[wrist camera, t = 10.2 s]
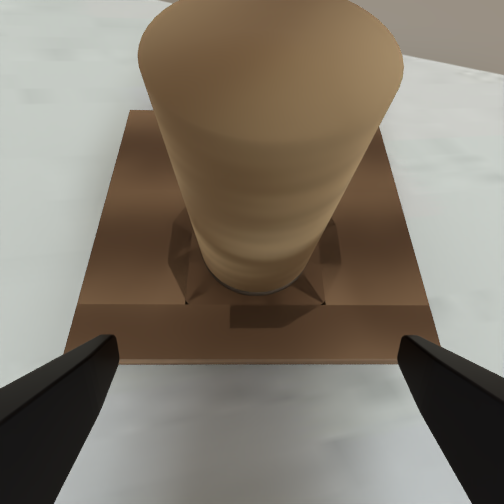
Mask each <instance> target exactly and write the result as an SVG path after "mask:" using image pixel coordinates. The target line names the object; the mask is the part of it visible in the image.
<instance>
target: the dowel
mask: <svg viewBox="0 0 504 504" xmlns="http://www.w3.org/2000/svg"><path fill="white" fill-rule="evenodd" d="M138 63H139V68H140V71H141V74H142V77H143V80H144V83H145V86H146V89H147V92H148V95H149V98H150V101H151V104H152V107H153V110H154V113H155V116H156V119H157V122H158V125H159V128H160V131H161V134H162V137H163V140H164V143H165V146H166V149H167V152H168V155H169V158H170V161H171V164H172V167H173V170H174V173H175V176H176V178H177V181H178V184H179V187H180V190H181V193H182V196H183V199H184V202H185V205H186V208H187V211H188V214H189V217H190V220H191V223H192V226H193V229H194V232H195V235H196V238H197V241H198V244H199V247H200V250H201V254H202V257H203V260H204V263H205V265H206V267H207V269H208V271H209V272H210V274H211V275H212V276H213V277H214V278H215V280H216V281H218V282H219V283H220V284H221V285H223V286H224V287H226V288H227V289H229V290H231V291H234V292H236V293H239V294H243V295H249V296H264V295H270V294H274V293H276V292H279V291H281V290H283V289H285V288H287V287H288V286H290V285H291V284H293V283H294V282H295V281H296V280H297V279H298V278H299V276H300V275H301V274H302V272H303V271H304V269H305V267H306V265H307V263H308V261H309V259H310V257H311V255H312V253H313V251H314V249H315V247H316V245H317V243H318V242H319V240H320V238H321V236H322V234H323V232H324V230H325V228H326V226H327V224H328V222H329V221H330V219H331V217H332V215H333V213H334V211H335V209H336V207H337V205H338V203H339V202H340V200H341V198H342V196H343V194H344V192H345V190H346V188H347V186H348V184H349V182H350V181H351V179H352V177H353V175H354V173H355V171H356V169H357V167H358V165H359V163H360V161H361V160H362V158H363V156H364V154H365V152H366V150H367V148H368V146H369V144H370V142H371V141H372V139H373V137H374V135H375V133H376V131H377V129H378V127H379V125H380V123H381V121H382V120H383V118H384V116H385V114H386V112H387V110H388V108H389V106H390V104H391V102H392V100H393V99H394V97H395V95H396V93H397V91H398V89H399V87H400V84H401V81H402V78H403V69H404V65H403V57H402V54H401V51H400V48H399V45H398V44H397V42H396V40H395V38H394V37H393V35H392V34H391V33H390V31H389V30H388V29H387V28H386V27H385V26H384V25H383V24H382V23H381V22H380V21H379V20H378V19H377V18H375V17H374V16H373V15H372V14H370V13H369V12H368V11H366V10H364V9H363V8H361V7H359V6H358V5H356V4H354V3H352V2H350V1H348V0H179V1H177V2H175V3H173V4H172V5H170V6H169V7H167V8H166V9H164V10H163V11H162V12H161V13H160V14H159V15H157V16H156V17H155V18H154V19H153V21H152V22H151V23H150V24H149V25H148V27H147V28H146V30H145V32H144V33H143V35H142V38H141V41H140V44H139V49H138Z"/></svg>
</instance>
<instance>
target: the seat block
mask: <svg viewBox="0 0 504 504" xmlns="http://www.w3.org/2000/svg"><path fill="white" fill-rule="evenodd" d="M101 334H113V335H115V336H116V339H117V344H118V350H119V356H120V359H119V364H118V365H169V364H398V361H397V355H398V350H399V346H400V341H401V338H402V336H404V335H418V336H420V337H422V338H424V339H426V340H428V341H430V342H432V343H434V344H436V345H438V346H440V347H441V345H440V342H439V338H438V335H437V331H436V328H435V324H434V321H433V317H432V313H431V310H430V306H429V303H428V299H427V296H426V292H425V289H424V285H423V281H422V278H421V274H420V271H419V267H418V264H417V260H416V256H415V253H414V249H413V246H412V242H411V239H410V235H409V232H408V228H407V224H406V221H405V217H404V214H403V210H402V207H401V203H400V199H399V196H398V192H397V189H396V185H395V182H394V178H393V175H392V171H391V167H390V164H389V160H388V157H387V153H386V150H385V146H384V143H383V139H382V135H381V132H380V128H379V127H378V129H377V131H376V133H375V135H374V137H373V139H372V141H371V142H370V144H369V146H368V148H367V150H366V152H365V154H364V156H363V158H362V160H361V161H360V163H359V165H358V167H357V169H356V171H355V173H354V175H353V177H352V179H351V181H350V182H349V184H348V186H347V188H346V190H345V192H344V194H343V196H342V198H341V200H340V202H339V203H338V205H337V207H336V209H335V211H334V213H333V215H332V217H331V219H330V221H329V222H328V224H327V226H326V228H325V230H324V232H323V234H322V236H321V238H320V240H319V242H318V243H317V245H316V247H315V249H314V251H313V253H312V255H311V257H310V259H309V261H308V263H307V265H306V267H305V269H304V271H303V272H302V274H301V275H300V276H299V278H298V279H297V280H296V281H295V282H294V283H293V284H291V285H290V286H288V287H287V288H285V289H283V290H281V291H279V292H276V293H274V294H270V295H264V296H249V295H243V294H239V293H236V292H234V291H231V290H229V289H227V288H226V287H224V286H223V285H221V284H220V283H219V282H218V281H216V280H215V278H214V277H213V276H212V275H211V274H210V272H209V271H208V269H207V267H206V265H205V263H204V260H203V257H202V254H201V250H200V247H199V244H198V241H197V238H196V235H195V232H194V229H193V226H192V223H191V220H190V217H189V214H188V211H187V208H186V205H185V202H184V199H183V196H182V193H181V190H180V187H179V184H178V181H177V178H176V176H175V173H174V170H173V167H172V164H171V161H170V158H169V155H168V152H167V149H166V146H165V143H164V140H163V137H162V134H161V131H160V128H159V125H158V122H157V119H156V116H155V113H154V110H130V112H129V116H128V120H127V123H126V127H125V131H124V134H123V138H122V142H121V145H120V149H119V153H118V156H117V160H116V163H115V167H114V171H113V174H112V178H111V182H110V185H109V189H108V193H107V196H106V200H105V204H104V207H103V211H102V215H101V218H100V222H99V226H98V229H97V233H96V237H95V240H94V244H93V248H92V251H91V255H90V259H89V262H88V266H87V270H86V273H85V277H84V281H83V284H82V288H81V292H80V295H79V299H78V303H77V306H76V310H75V314H74V317H73V321H72V325H71V328H70V332H69V336H68V339H67V343H66V347H65V350H64V354H65V353H67V352H69V351H71V350H73V349H75V348H76V347H78V346H80V345H82V344H84V343H86V342H87V341H89V340H91V339H93V338H95V337H97V336H99V335H101Z"/></svg>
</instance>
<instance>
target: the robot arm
mask: <svg viewBox="0 0 504 504" xmlns="http://www.w3.org/2000/svg"><path fill="white" fill-rule="evenodd" d="M119 359H120V356H119V350H118V344H117V339H116V336H115V335H113V334H101V335H99V336H97V337H95V338H93V339H91V340H89V341H87V342H86V343H84V344H82V345H80V346H78V347H76V348H75V349H73V350H71V351H69V352H67V353H65V354H63V355H62V356H60V357H58V358H56V359H54V360H52V361H50V362H49V363H47V364H45V365H43V366H41V367H39V368H37V369H36V370H34V371H32V372H30V373H28V374H26V375H25V376H23V377H21V378H19V379H17V380H15V381H13V382H12V383H10V384H8V385H6V386H4V387H2V388H0V504H54V502H55V500H56V498H57V496H58V494H59V492H60V490H61V488H62V486H63V484H64V482H65V480H66V478H67V476H68V474H69V472H70V470H71V468H72V466H73V464H74V462H75V461H76V459H77V457H78V455H79V453H80V451H81V449H82V447H83V445H84V443H85V441H86V439H87V437H88V435H89V433H90V431H91V429H92V427H93V425H94V423H95V421H96V419H97V417H98V415H99V413H100V410H101V408H102V406H103V403H104V401H105V398H106V395H107V393H108V390H109V388H110V385H111V382H112V380H113V377H114V375H115V372H116V370H117V367H118V364H119ZM397 361H398V365H399V367H400V369H401V371H402V374H403V376H404V378H405V380H406V383H407V385H408V387H409V389H410V391H411V394H412V396H413V398H414V400H415V402H416V405H417V407H418V409H419V411H420V413H421V415H422V416H423V418H424V420H425V422H426V424H427V425H428V427H429V429H430V431H431V432H432V434H433V436H434V438H435V439H436V441H437V443H438V445H439V446H440V448H441V450H442V452H443V453H444V455H445V457H446V459H447V461H448V462H449V464H450V466H451V468H452V469H453V471H454V473H455V475H456V476H457V478H458V480H459V482H460V483H461V485H462V487H463V489H464V490H465V492H466V494H467V496H468V497H469V499H470V501H471V503H472V504H504V378H503V377H501V376H499V375H497V374H495V373H493V372H491V371H489V370H487V369H485V368H483V367H481V366H479V365H477V364H475V363H473V362H471V361H469V360H467V359H465V358H463V357H461V356H459V355H457V354H455V353H453V352H451V351H448V350H446V349H444V348H442V347H440V346H438V345H436V344H434V343H432V342H430V341H428V340H426V339H424V338H422V337H420V336H418V335H404V336H402V338H401V341H400V346H399V350H398V355H397Z"/></svg>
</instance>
